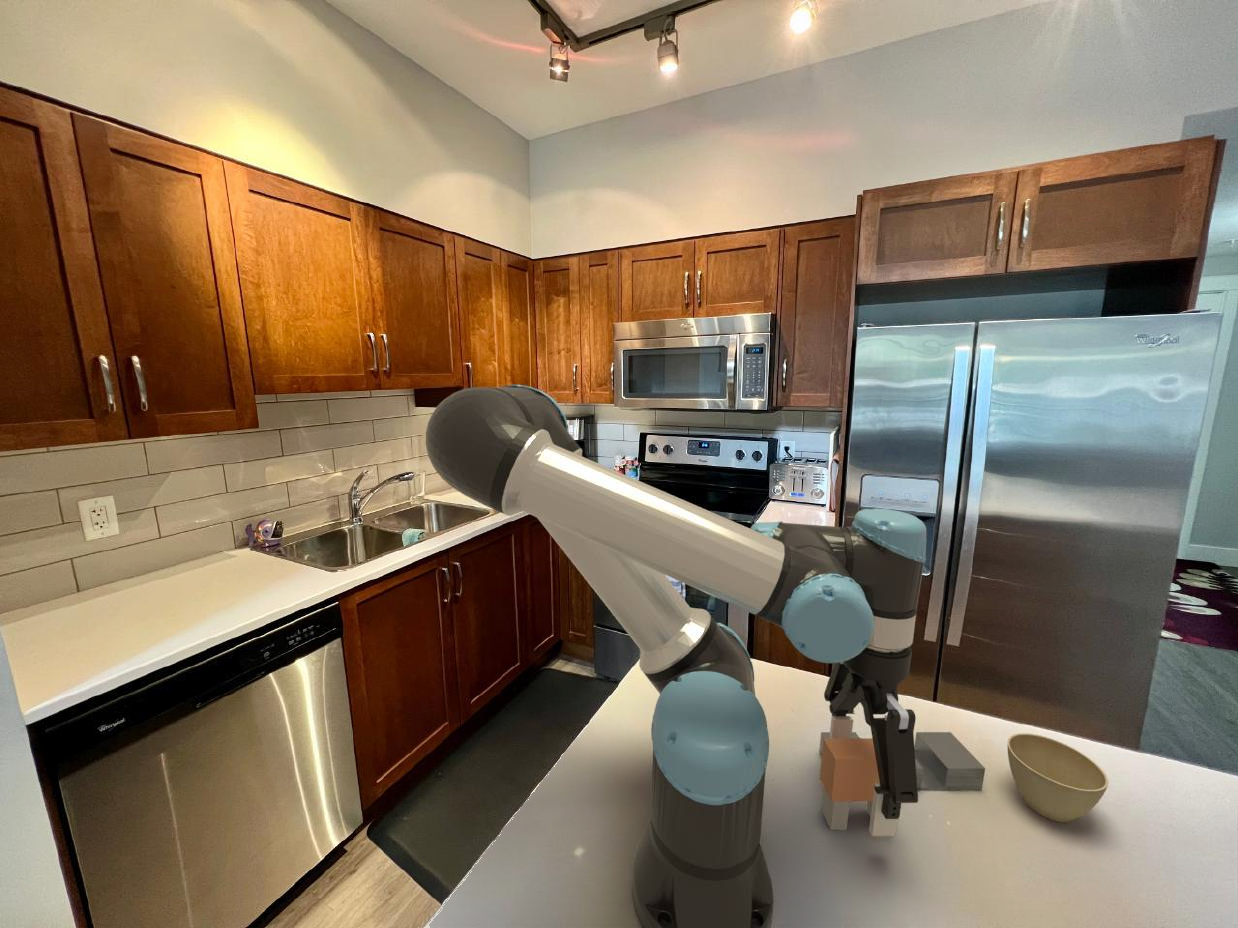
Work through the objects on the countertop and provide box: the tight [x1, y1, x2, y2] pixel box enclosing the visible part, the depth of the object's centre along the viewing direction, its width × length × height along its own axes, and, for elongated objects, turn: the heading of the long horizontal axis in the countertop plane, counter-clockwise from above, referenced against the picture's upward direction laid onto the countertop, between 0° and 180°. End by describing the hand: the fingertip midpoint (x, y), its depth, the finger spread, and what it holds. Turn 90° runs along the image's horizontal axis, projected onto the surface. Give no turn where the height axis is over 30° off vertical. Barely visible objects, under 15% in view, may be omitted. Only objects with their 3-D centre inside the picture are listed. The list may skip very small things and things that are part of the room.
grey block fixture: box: [818, 731, 986, 791], centre depth 71 cm, size 20×7×4 cm, turn 91°
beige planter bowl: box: [1007, 732, 1109, 823], centre depth 65 cm, size 10×10×7 cm
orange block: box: [819, 737, 880, 831], centre depth 62 cm, size 9×4×10 cm, turn 91°
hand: (858, 792), depth 63 cm, fingers open, 10 cm apart
